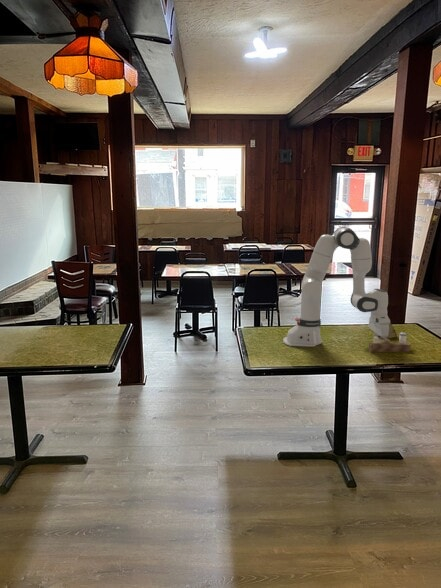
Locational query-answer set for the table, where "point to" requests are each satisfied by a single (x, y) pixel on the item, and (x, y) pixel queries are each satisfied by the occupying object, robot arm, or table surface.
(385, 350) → the brown wooden bar
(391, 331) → the rock
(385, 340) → the maple block
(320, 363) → the table surface
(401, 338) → the salt shaker
